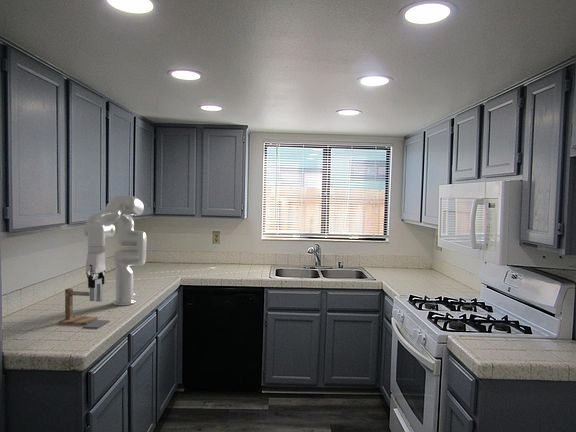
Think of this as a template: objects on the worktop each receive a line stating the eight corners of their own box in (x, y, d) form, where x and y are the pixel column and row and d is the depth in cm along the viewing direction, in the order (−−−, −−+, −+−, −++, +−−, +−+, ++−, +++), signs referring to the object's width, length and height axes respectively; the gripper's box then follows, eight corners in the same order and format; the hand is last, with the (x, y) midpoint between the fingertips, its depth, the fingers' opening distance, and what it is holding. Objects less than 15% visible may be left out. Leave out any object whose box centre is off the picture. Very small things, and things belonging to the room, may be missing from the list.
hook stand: (58, 323, 204) (58, 291, 203) (71, 318, 214) (71, 286, 213) (86, 325, 203) (86, 292, 202) (97, 319, 213) (97, 287, 212)
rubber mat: (95, 320, 210) (95, 319, 210) (109, 321, 209) (109, 320, 209) (82, 327, 199) (82, 326, 199) (97, 328, 198) (97, 327, 198)
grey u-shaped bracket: (98, 300, 207) (98, 277, 207) (102, 300, 207) (102, 277, 207) (89, 304, 200) (89, 280, 199) (94, 304, 199) (94, 280, 199)
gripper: (98, 247, 211) (98, 282, 212) (78, 251, 194) (78, 289, 195) (113, 247, 211) (112, 282, 212) (94, 252, 194) (94, 290, 194)
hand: (96, 285), depth 203 cm, fingers closed on grey u-shaped bracket, 7 cm apart
